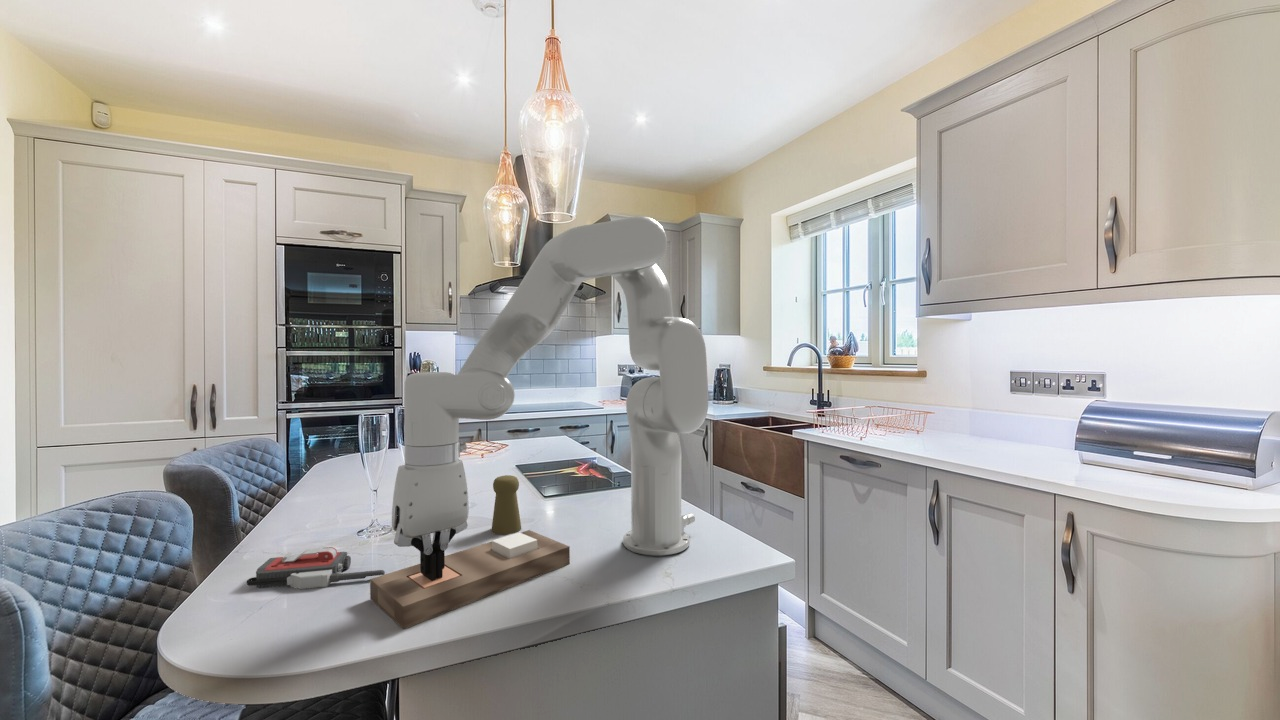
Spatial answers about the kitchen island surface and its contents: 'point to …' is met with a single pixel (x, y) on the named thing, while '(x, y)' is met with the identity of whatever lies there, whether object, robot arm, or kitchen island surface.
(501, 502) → the cork
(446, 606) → the block
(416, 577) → the terracotta key
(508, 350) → the robot arm
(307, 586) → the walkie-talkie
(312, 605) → the kitchen island surface
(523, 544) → the off-white key
